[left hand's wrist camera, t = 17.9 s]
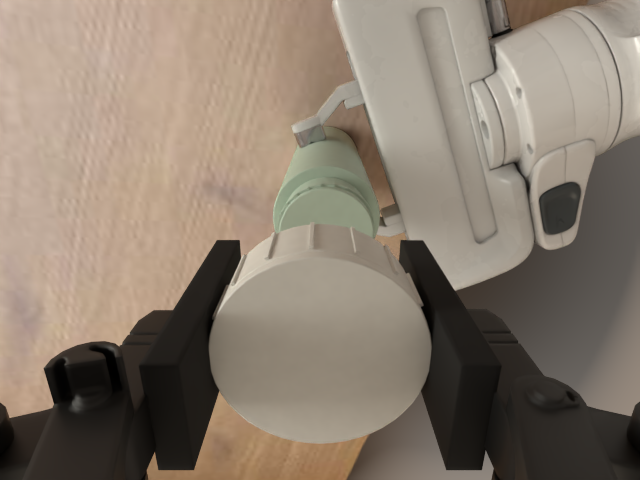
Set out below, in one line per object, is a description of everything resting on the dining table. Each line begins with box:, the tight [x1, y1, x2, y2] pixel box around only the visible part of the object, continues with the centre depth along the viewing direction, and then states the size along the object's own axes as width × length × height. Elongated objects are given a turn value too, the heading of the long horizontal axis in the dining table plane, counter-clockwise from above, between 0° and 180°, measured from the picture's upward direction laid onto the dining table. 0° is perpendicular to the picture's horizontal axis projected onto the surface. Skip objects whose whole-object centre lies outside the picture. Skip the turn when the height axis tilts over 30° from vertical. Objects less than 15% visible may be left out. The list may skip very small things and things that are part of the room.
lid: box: [208, 222, 432, 443], centre depth 11 cm, size 6×6×2 cm
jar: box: [273, 126, 380, 239], centre depth 26 cm, size 5×5×17 cm
